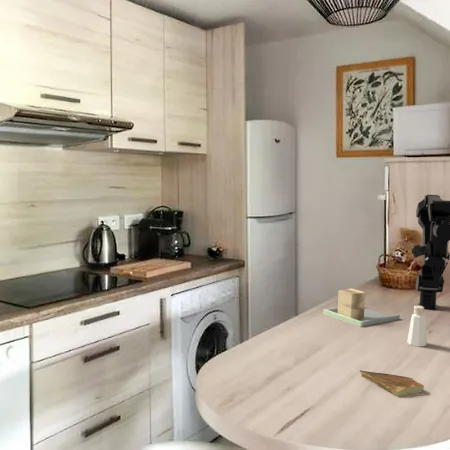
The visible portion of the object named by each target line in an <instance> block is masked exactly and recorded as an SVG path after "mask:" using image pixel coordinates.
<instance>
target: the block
mask: <svg viewBox="0 0 450 450" xmlns="http://www.w3.org/2000/svg"><path fill="white" fill-rule="evenodd" d="M337 296H338V297H337V307H338V314H341V315H344V316H347V317H350V318H353V319H356V320H363V319H364V308H365V306H366V302H365V301H366V300H365V298H366V292H365V291H362V290H357V289H354V288H346V289H339V290H338V294H337ZM363 321H364V320H363Z"/></svg>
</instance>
